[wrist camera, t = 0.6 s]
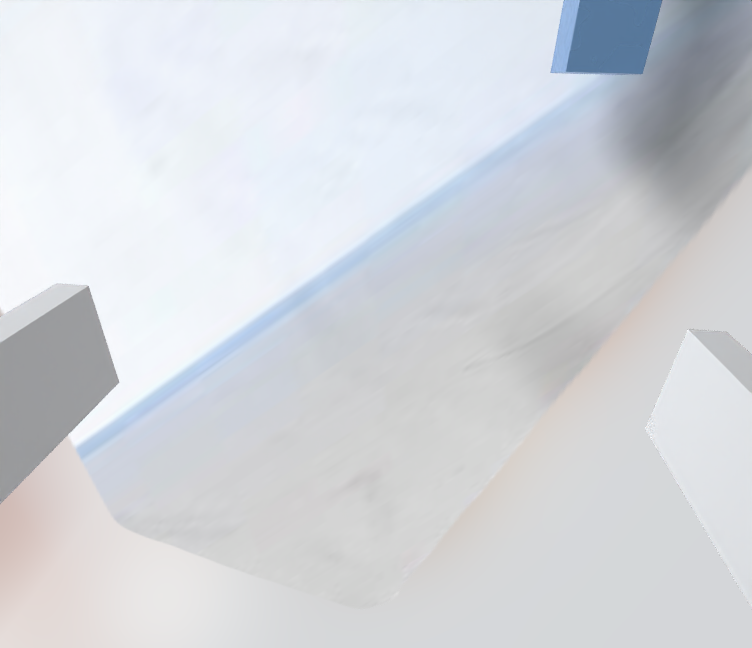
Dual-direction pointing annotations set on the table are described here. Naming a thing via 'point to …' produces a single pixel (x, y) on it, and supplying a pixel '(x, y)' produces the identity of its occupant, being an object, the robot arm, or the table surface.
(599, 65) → the lever
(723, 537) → the robot arm
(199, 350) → the table surface
